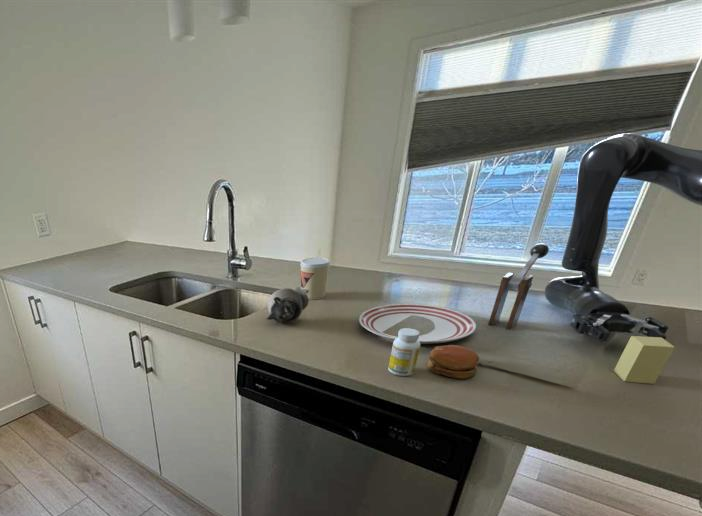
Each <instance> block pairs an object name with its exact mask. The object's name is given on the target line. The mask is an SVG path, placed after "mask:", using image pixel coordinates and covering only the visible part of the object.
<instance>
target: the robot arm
mask: <svg viewBox="0 0 702 516" xmlns="http://www.w3.org/2000/svg"><path fill="white" fill-rule="evenodd" d="M576 179H577V181H576V195H575V204H574V211H573V216H572V222H571V227H570V231H569V235H568V237H567V242H566V246H565V248H564V252H563V255H562V260H561V267H562V268H563V269H564V270H568V271H573V272H579V273H580V272H581V275H579V276H577V275H576V276H563V277H562V276H561V277H555V278H554V279H552V280H550V281H549V282H547V284H546V286H545V287H544V297H545V299H546V300H547V302H548V303H549V304H551V305H553V306H554V307H558V308H560V309H562V310H565V311H566V310H567V311H569V312H570V313H572V315H573V317H572V319H571V322H570V323H569V324H570V326H571V327H572V328H573V330H574V331H575V332H576V333H577V334H579V335H580V334H581V335H583V334H585V333H588V335H589V336H593V337H594V338H595V339H597V340H599V341H600V342H602V343H603V342H604V343H606V342H607V341H608V339H609V337H610V335H611V333H615V334H624V335H627V336H630V337H631V336H643V337H661V338H663V339H664V340H666V339H667V337H668V336H667V331H668V330H669V328H670V326H669V325H667V324H665V323H663V322H662V321H660V320H658V319H657V318H655V317H653V316H646V318H645V319H640V318H636V317H634V316H632V315H631V314H630V310H629V308H628V307H627V306H626V305H625V304H624V303H623V302H621V301H619V300H618V299H616V298H615V297H613V296H612V295H610V294H608V293H605V292H603V291H602V290H601V289H600V280H599V264H600V259H601V255H602V253H603V249H604V247H605V243H606V239H607V236H608V224H609V223H608V222H609V221H608V220H609V219H608V217H609V208H610V203H611V200H612V196H613V194H614V192H615V190H616V187H617V185H618V184H619V182H620V180H621V179H629V180H634V181H640V182H646V183H650V184H654V185H657V186H659V187H661V188H663V189H666V190H667V191H669V192H671V193H673V194H674V195H676V196H677V197H679V198H681V199H683V200H684V201H687V202H690V203H692V204H695V205H698V206H700V207H702V149H696V148H695V149H693V148H686V147H681V146H678V145H673V144H670V143H668V142H663V141H660V140H656V139H653V138H650V137H646V136H644V135H640V134H637V133H631V132H630V133H619V134H616V135H613V136H610V137H607V139H603V140H601V141H599V142H598V143H595V144H594V145H593V146H591V147H590V148H588V149H587V151H586V152H585V153H584V154H583V155H582V156H581V158H580V161H579V164H578V169H577V178H576ZM633 329H634V331H632V330H633ZM644 331H645V332H644Z"/></svg>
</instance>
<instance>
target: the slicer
mask: <svg viewBox="0 0 702 516" xmlns="http://www.w3.org/2000/svg"><path fill="white" fill-rule="evenodd" d="M513 276H515V273H513V272H508V273H506V274H505V275H503V276H502V278H501V280H500V283H499V288H498V291H497V294H496V297H495V301H494V304H493V308H492V310H491V314H490V317H489V320H488V324H487V326H491V327H493V326H494V325H496V324H497V323H498V322H499V321H500V318H501V315H502V312H503V310H504V309H503V308H504V306H505V303H506V300H507V297H508V293H509V290H507V289H508V283H509V281H510V280H511V279H512V277H513ZM533 279H534V275H531V274H530V275H527V276H525V277H524V279H522V282H521V285H520V288H519V291H518V292H517V295H516V296H515V297H516V298H515V300H514V303H513V306H512V309H511V313H510V315H509V318H508V321H507V324H506V327H505V330H509V331H511V330H513V328H515V327H516V326H517V325H518V322H519V319H520V316H521V314H522V310H523V308H524V304H525V302H526V299H527V296H528V293H529V290H530V289H531V288H532V285H533V283H532V281H533Z"/></svg>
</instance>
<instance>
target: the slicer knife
mask: <svg viewBox="0 0 702 516" xmlns="http://www.w3.org/2000/svg"><path fill="white" fill-rule="evenodd" d="M549 251H550V247H549V246H548V245H547V244H545V243H536V244H535V245H534V246H532V247H531V248H530V251H529V254H530V256H531V257H530V258H529V260H528V261H527V263H526V264H525V265H524V266H523V268H521V271H520V272H519V273H518V274H517V275H513V277H512V279H511V280H510V281H509V283H508V289H507V290H508V291H511V292H517V293H518V291H519V288H520V285H521V282H522V279H524V278H525V277H526V275H527V274H528V272H529V271H530V270H531V268H532V267H533V266H534V264H535V263H536V262H537V260H538V259H542V258H544V257H546V256H547V255H548V254H549Z"/></svg>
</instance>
